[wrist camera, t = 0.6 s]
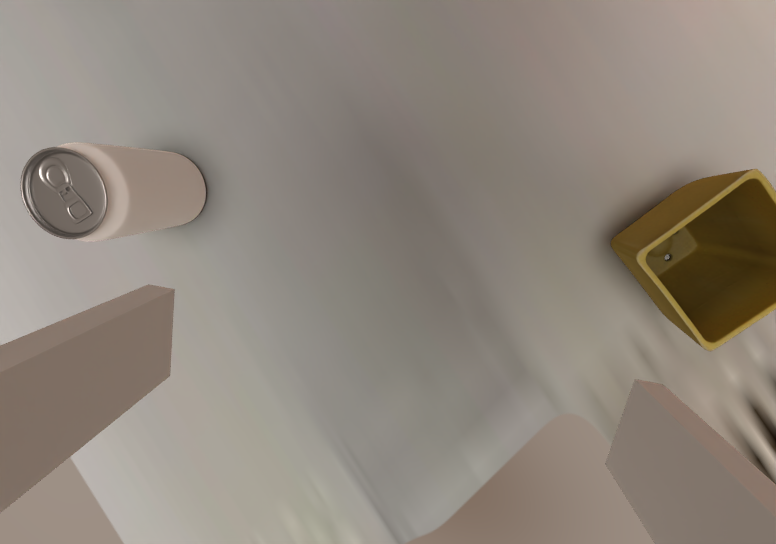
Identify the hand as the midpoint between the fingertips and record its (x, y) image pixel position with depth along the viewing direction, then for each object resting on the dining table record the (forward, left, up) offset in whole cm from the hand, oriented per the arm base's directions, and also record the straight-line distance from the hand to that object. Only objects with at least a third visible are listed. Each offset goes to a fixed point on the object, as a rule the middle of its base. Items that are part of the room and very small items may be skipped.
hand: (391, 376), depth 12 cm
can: (0, -22, -26) cm, 34 cm away
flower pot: (-4, +20, -26) cm, 33 cm away
